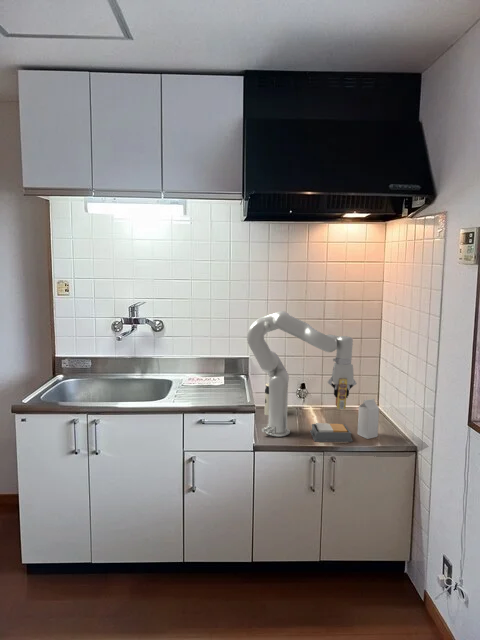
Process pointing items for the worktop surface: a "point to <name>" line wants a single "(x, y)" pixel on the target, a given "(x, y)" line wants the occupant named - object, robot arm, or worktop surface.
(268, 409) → the travel mug
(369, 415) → the milk carton
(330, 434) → the breaker housing
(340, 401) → the candy box
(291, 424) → the worktop surface
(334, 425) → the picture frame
